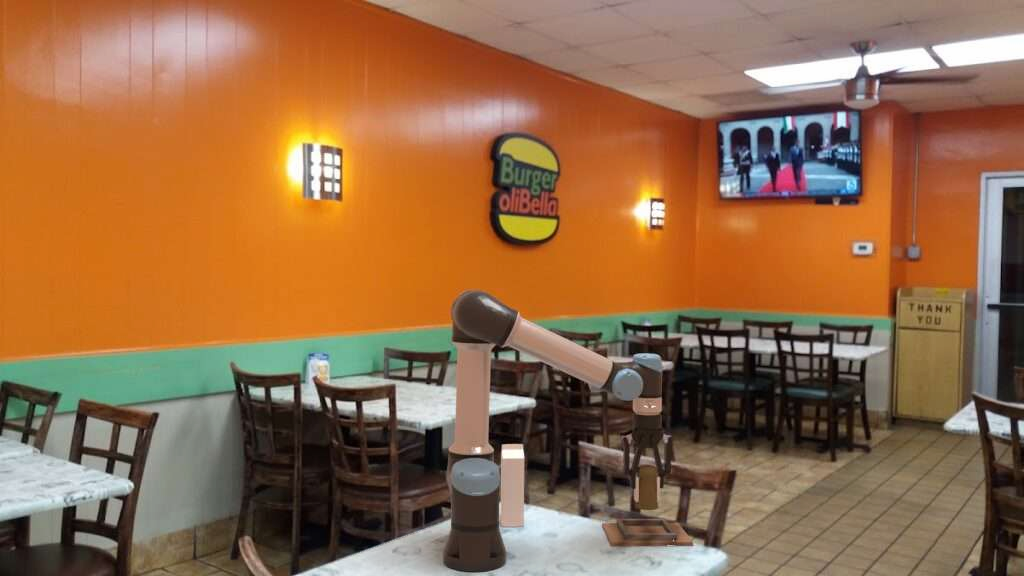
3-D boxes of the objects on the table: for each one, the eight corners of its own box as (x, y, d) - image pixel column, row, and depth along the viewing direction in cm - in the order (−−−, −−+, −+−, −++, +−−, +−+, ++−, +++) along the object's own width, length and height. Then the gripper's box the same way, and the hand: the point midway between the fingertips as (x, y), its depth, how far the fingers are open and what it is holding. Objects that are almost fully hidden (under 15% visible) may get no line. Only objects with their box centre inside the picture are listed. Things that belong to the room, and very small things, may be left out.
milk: (523, 527, 224) (524, 446, 223) (501, 527, 223) (502, 446, 223) (521, 520, 230) (522, 441, 229) (500, 520, 229) (501, 441, 229)
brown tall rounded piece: (651, 511, 212) (651, 469, 212) (631, 507, 216) (631, 465, 216) (662, 506, 217) (662, 464, 217) (642, 502, 221) (642, 461, 220)
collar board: (611, 546, 208) (611, 536, 208) (601, 526, 224) (602, 517, 224) (693, 545, 209) (693, 536, 209) (678, 526, 225) (678, 517, 225)
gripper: (615, 415, 212) (615, 504, 212) (684, 414, 213) (683, 504, 213) (611, 410, 219) (610, 496, 220) (677, 410, 220) (677, 496, 221)
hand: (646, 500), depth 216 cm, fingers closed on brown tall rounded piece, 5 cm apart
